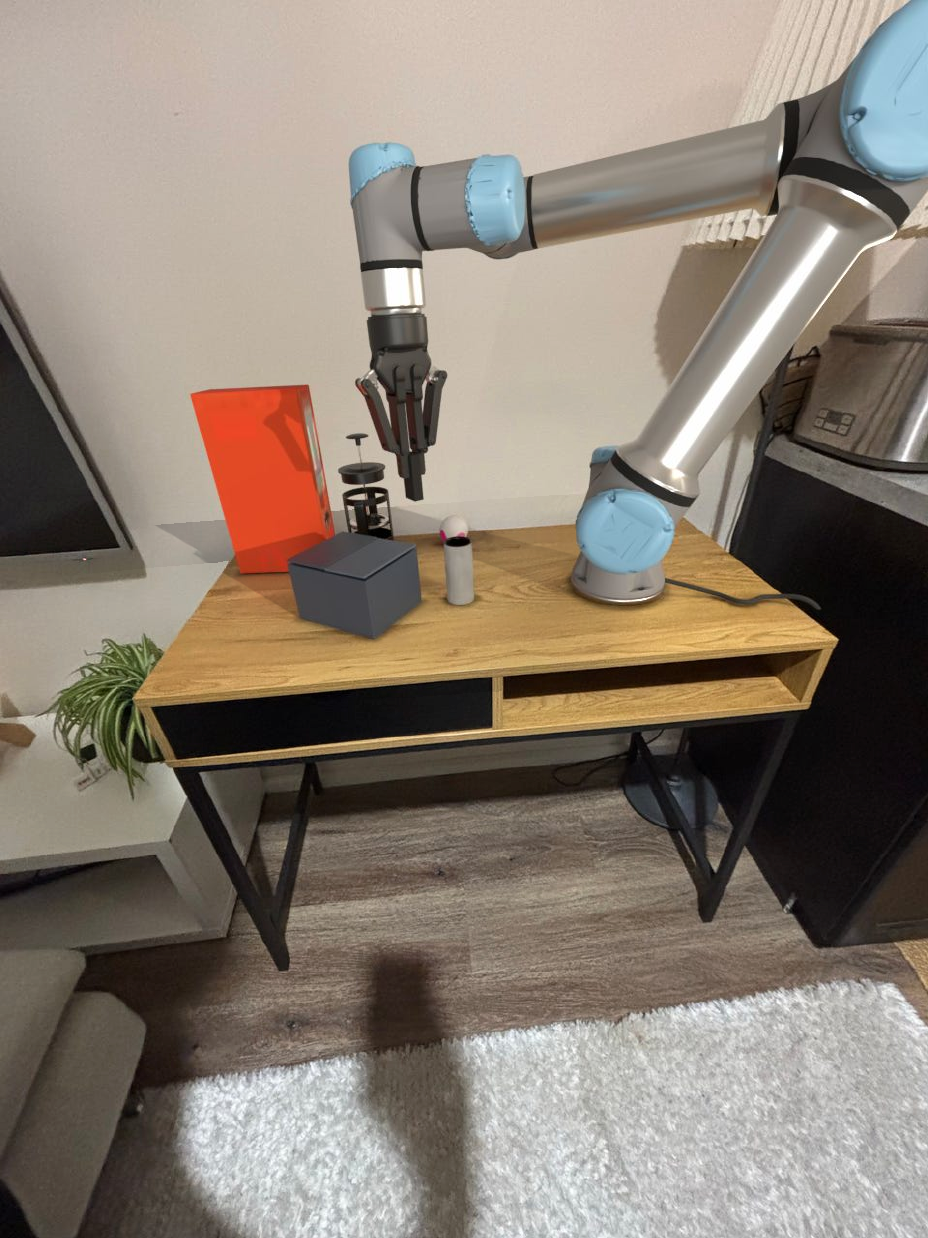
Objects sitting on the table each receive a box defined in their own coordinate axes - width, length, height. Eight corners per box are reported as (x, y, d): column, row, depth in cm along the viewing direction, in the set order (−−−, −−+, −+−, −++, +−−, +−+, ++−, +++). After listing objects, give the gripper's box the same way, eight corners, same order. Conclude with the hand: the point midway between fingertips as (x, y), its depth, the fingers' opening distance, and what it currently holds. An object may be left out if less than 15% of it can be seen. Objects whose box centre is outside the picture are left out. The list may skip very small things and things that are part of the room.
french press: (357, 540, 111) (339, 429, 100) (399, 539, 111) (387, 427, 99) (343, 563, 101) (322, 442, 90) (390, 562, 101) (375, 440, 89)
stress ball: (444, 551, 112) (425, 529, 109) (473, 529, 111) (454, 505, 108) (448, 564, 106) (428, 540, 103) (479, 540, 104) (459, 515, 101)
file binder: (255, 557, 106) (210, 388, 90) (339, 554, 105) (308, 383, 89) (240, 574, 99) (188, 394, 83) (330, 571, 98) (295, 388, 82)
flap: (415, 546, 81) (415, 543, 81) (364, 579, 71) (363, 576, 71) (378, 540, 84) (378, 537, 84) (324, 570, 74) (324, 568, 74)
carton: (421, 601, 86) (416, 543, 81) (374, 639, 76) (364, 576, 71) (352, 585, 92) (342, 531, 87) (299, 618, 83) (285, 559, 78)
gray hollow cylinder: (471, 606, 84) (469, 547, 78) (444, 604, 85) (440, 546, 79) (476, 593, 87) (474, 536, 82) (450, 592, 88) (447, 535, 83)
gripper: (425, 312, 70) (438, 484, 82) (335, 316, 64) (363, 502, 75) (456, 309, 64) (465, 494, 76) (361, 313, 58) (387, 514, 70)
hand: (414, 498), depth 76 cm, fingers closed
